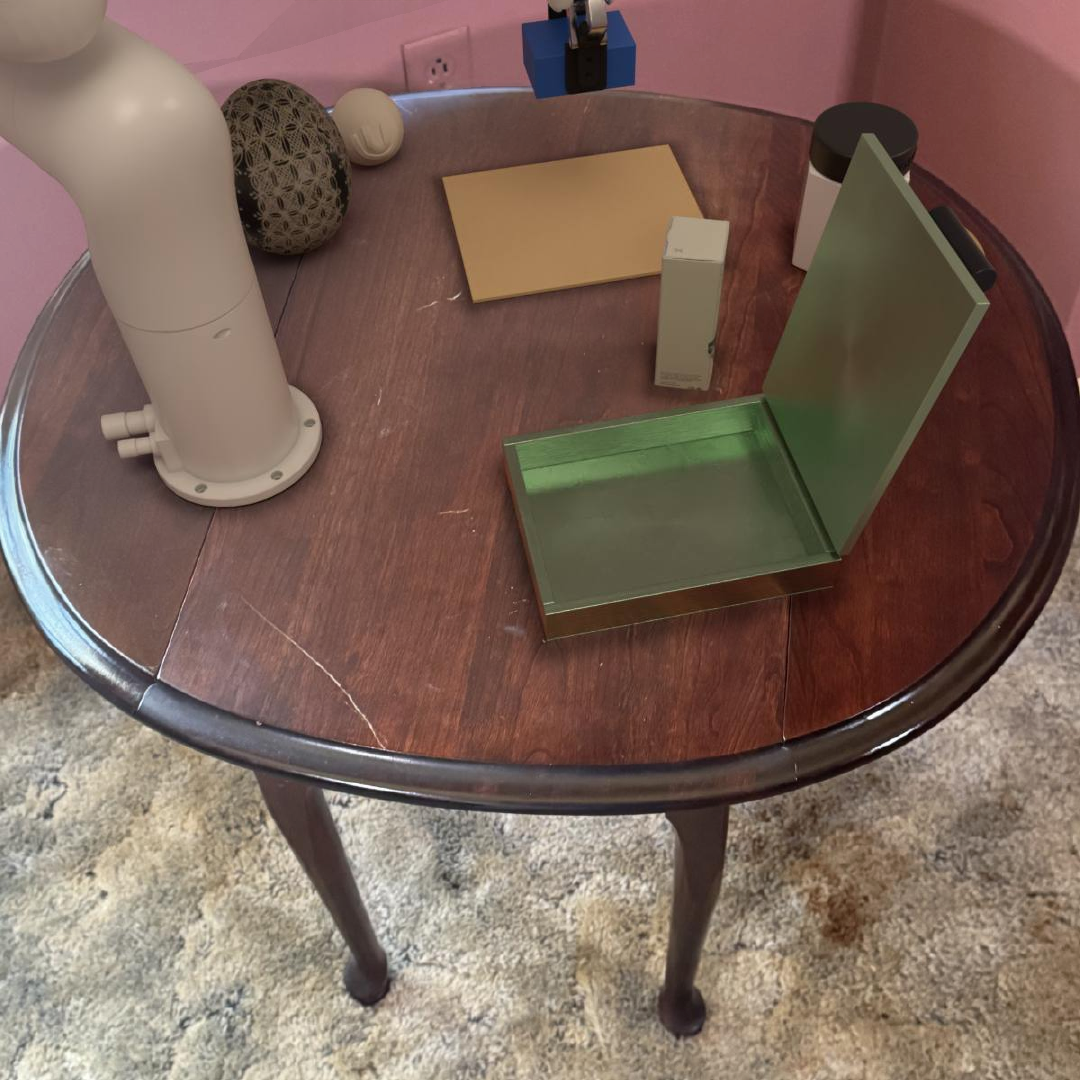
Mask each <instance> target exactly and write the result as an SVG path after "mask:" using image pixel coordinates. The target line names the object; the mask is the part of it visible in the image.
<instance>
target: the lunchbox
mask: <svg viewBox="0 0 1080 1080" xmlns="http://www.w3.org/2000/svg"><path fill="white" fill-rule="evenodd" d="M501 447H502V458H503V467H504V471H505V475H506V480H507V483H508V488H509V491H510V496H511V500H512V503H513V504H512V505H513V508H514V512H515V516H516V520H517V524H518V529H519V532H520V536H521V541H522V545H523V549H524V554H525V557H526V561H527V565H528V569H529V573H530V577H531V581H532V585H533V586H532V587H533V590H534V594H535V599H536V602H537V603H536V604H537V606H538V610H539V614H540V617H541V622H542V626H543V631H544V636H545V639H546V641H547V642H549V641H555V640H560V639H566V638H569V637H575V636H580V635H585V634H590V633H596V632H597V633H598V632H602V631H607V630H612V629H617V628H622V627H623V628H624V627H628V626H632V625H633V626H634V625H640V624H644V623H650V622H655V621H660V620H665V619H666V620H667V619H670V618H675V617H681V616H687V615H692V614H697V613H702V612H707V611H713V610H718V609H723V608H730V607H734V606H740V605H744V604H750V603H755V602H760V601H765V600H772V599H776V598H781V597H788V596H792V595H797V594H803V593H807V592H808V593H809V592H813V591H814V592H815V591H819V590H825V589H830V588H833V587H835V583H836V580H837V577H838V573H839V570H840V567H841V563H842V557H841V555H838V554H837V551H836V549H835V547H834V545H833V543H832V541H831V538H830V536H829V534H828V532H827V530H826V528H825V525H824V523H823V521H822V519H821V517H820V515H819V512H818V510H817V508H816V506H815V504H814V502H813V499H812V497H811V495H810V493H809V491H808V489H807V486H806V484H805V482H804V480H803V478H802V475H801V473H800V471H799V469H798V467H797V465H796V462H795V460H794V458H793V456H792V454H791V452H790V449H789V447H788V445H787V443H786V441H785V439H784V436H783V434H782V432H781V430H780V428H779V426H778V423H777V421H776V419H775V417H774V415H773V413H772V410H771V408H770V406H769V404H768V402H767V400H766V397H765V395H764V393H763V392H762V393H757V394H750V395H745V396H739V397H734V398H726V399H721V400H716V401H715V400H714V401H710V402H704V403H698V404H692V405H686V406H685V405H684V406H680V407H675V408H669V409H662V410H657V411H650V412H645V413H639V414H634V415H628V416H622V417H614V418H610V419H603V420H598V421H593V422H586V423H581V424H575V425H568V426H562V427H556V428H550V429H545V430H540V431H533V432H528V433H521V434H515V435H510V436H504V437H503V436H502V437H501Z"/></svg>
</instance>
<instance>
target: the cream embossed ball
mask: <svg viewBox="0 0 1080 1080" xmlns="http://www.w3.org/2000/svg"><path fill="white" fill-rule="evenodd" d="M330 116H331V118H332V119H333V121H334V122H335V124H336V126H337V128H338V130H339V132H340V134H341V136H342V138H343V141H344V144H345V146H346V149H347V153H348V156H349V161H350V162H352V163H354V164H356V165H360V166H367V167H368V166H371V167H372V166H378V165H381V164H384V163H385V162H388V161H389V160H391V159H392V158H393V157H394V156H395V155H396V154H397V153H398V151H399V150H400V149H401V147H402V143H403V139H404V134H405V128H404V127H405V126H404V121H403V117H402V113H401V110H400V109H399V107H398V105H397V104H396V102H395V100H394V99H393V98H392V97H390V96H389V95H387V94H386V93H385V92H384V91H382V90H379V89H376V88H370V87H358V88H354V89H351V90H349V91H347V92H346V93H344V94H343V95H342V96H341V97H340V98H339V99H338V100H337V101H336V103H335V104H334V106H333V108H332V111H331V113H330Z"/></svg>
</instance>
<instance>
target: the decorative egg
mask: <svg viewBox="0 0 1080 1080" xmlns="http://www.w3.org/2000/svg"><path fill="white" fill-rule="evenodd" d="M220 109H221V111H222V113H223V115H224V118H225V120H226V123H227V127H228V130H229V134H230V140H231V146H232V156H233V171H234V185H235V193H236V200H237V205H238V211H239V215H240V219H241V224H242V228H243V232H244V236H245V239H246V243H249V244H251V245H252V246H254V247H256V248H257V249H260V250H262V251H264V252H267V253H271V254H276V255H283V256H294V255H301V254H305V253H308V252H311V251H313V250H316V249H318V248H319V247H321V246H322V245H324V244H325V243H326V242H328V241H329V240H330V239H331V238H332V237H333V236H334V235H335V234H336V233H337V232H338V230H339V228H340V227H341V226H342V224H343V223H344V220H345V218H346V216H347V213H348V212H349V211H348V210H349V209H350V204H351V200H352V193H353V172H352V168H351V167H352V166H351V161H350V160H349V156H348V153H347V149H346V146H345V144H344V141H343V138H342V136H341V134H340V132H339V130H338V128H337V126H336V124H335V122H334V121H333V119H332V118H331V114H330V113H329V112H328V111H327V108H325V106H324V105H322V103H321V102H320V101H318V100H317V99H316V98H315V97H314V96H313V95H312V94H311V93H309V92H308V91H307V90H305V89H303V88H302V87H300V86H298V85H297V84H296V83H292V82H289V81H286V80H282V79H279V78H260V79H255V80H252V81H249V82H247V83H244V84H243V85H242V86H240V87H238V88H237V89H236V90H234V91H233V92H232V93H231V94H230V95H229V96H228V97H227V98H226V100H225V101H224V102H223V104H222V105H221V106H220Z"/></svg>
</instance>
